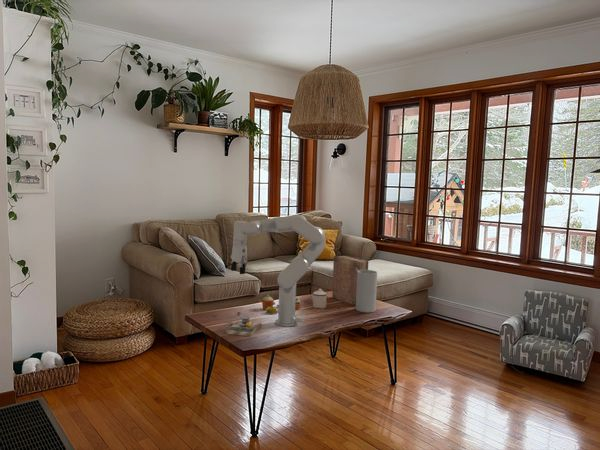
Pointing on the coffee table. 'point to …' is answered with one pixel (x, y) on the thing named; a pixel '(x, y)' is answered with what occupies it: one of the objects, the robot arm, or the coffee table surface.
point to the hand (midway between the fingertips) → (237, 272)
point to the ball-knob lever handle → (244, 320)
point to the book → (346, 277)
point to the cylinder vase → (366, 291)
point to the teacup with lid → (319, 299)
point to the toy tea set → (269, 303)
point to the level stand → (243, 329)
